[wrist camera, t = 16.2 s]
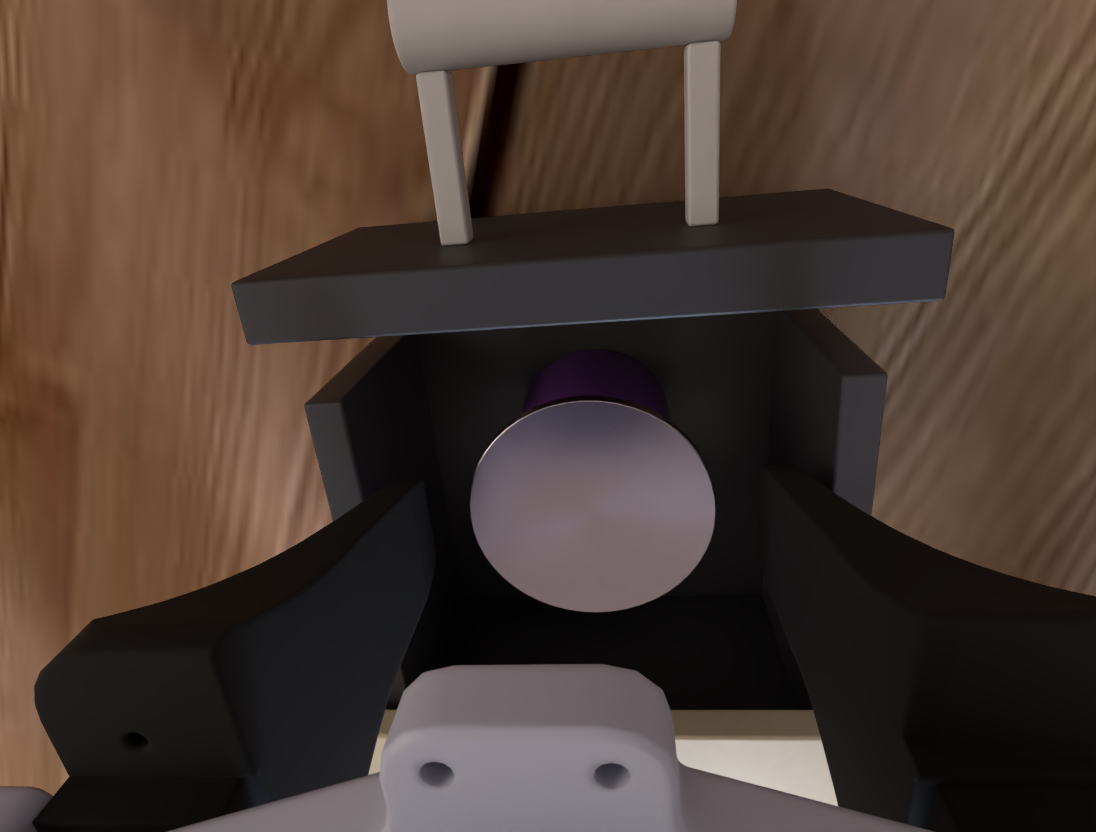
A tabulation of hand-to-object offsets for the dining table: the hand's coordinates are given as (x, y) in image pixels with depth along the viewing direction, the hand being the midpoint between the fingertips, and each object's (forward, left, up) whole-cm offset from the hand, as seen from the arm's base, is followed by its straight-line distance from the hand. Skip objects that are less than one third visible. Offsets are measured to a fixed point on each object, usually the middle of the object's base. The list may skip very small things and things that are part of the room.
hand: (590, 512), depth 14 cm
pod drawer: (0, +2, -6) cm, 6 cm away
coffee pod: (0, 0, -5) cm, 5 cm away
